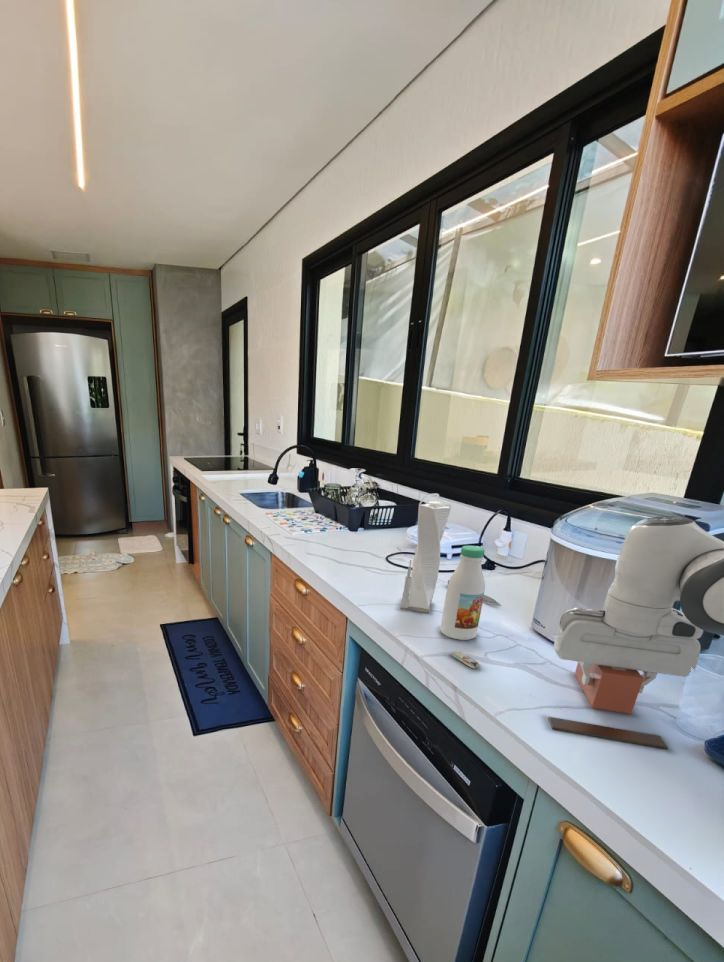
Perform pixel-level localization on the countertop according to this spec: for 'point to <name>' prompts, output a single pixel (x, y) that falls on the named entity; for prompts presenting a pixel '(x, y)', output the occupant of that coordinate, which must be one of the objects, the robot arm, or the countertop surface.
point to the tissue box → (611, 687)
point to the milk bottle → (464, 596)
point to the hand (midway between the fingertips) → (610, 687)
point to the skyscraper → (425, 556)
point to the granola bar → (465, 659)
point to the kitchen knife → (489, 600)
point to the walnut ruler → (607, 732)
